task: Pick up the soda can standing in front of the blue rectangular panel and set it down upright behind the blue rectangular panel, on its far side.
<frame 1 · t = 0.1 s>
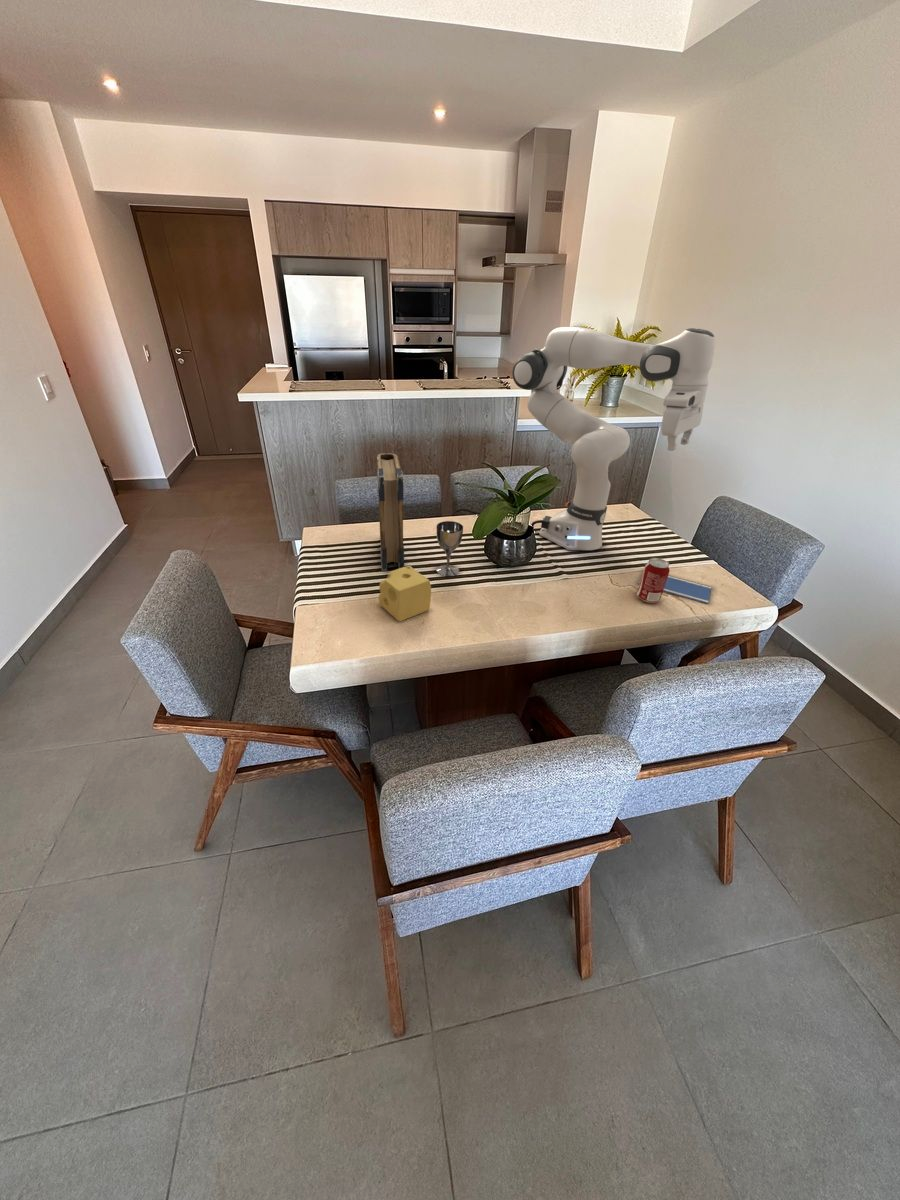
hand: (677, 447, 143), 39 cm above the table, tool pointing down, fingers open, 8 cm apart
wine glass: (447, 571, 156), on the table
blue rectangular panel: (674, 586, 153), on the table
cheese: (405, 608, 137), on the table
decorative book: (390, 553, 164), on the table
soda can: (647, 598, 147), on the table
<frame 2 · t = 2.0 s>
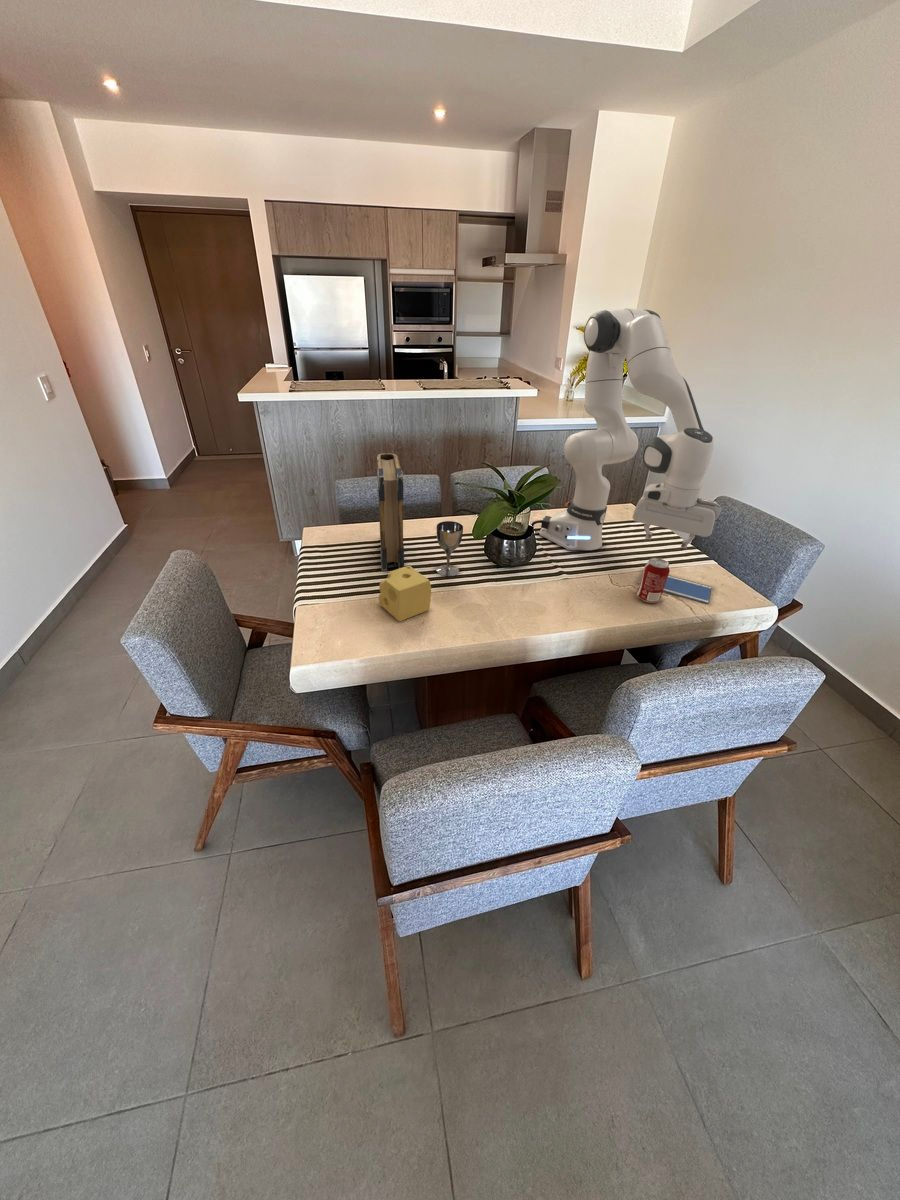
hand: (665, 542, 137), 18 cm above the table, tool pointing down, fingers open, 8 cm apart
nothing on the table moved.
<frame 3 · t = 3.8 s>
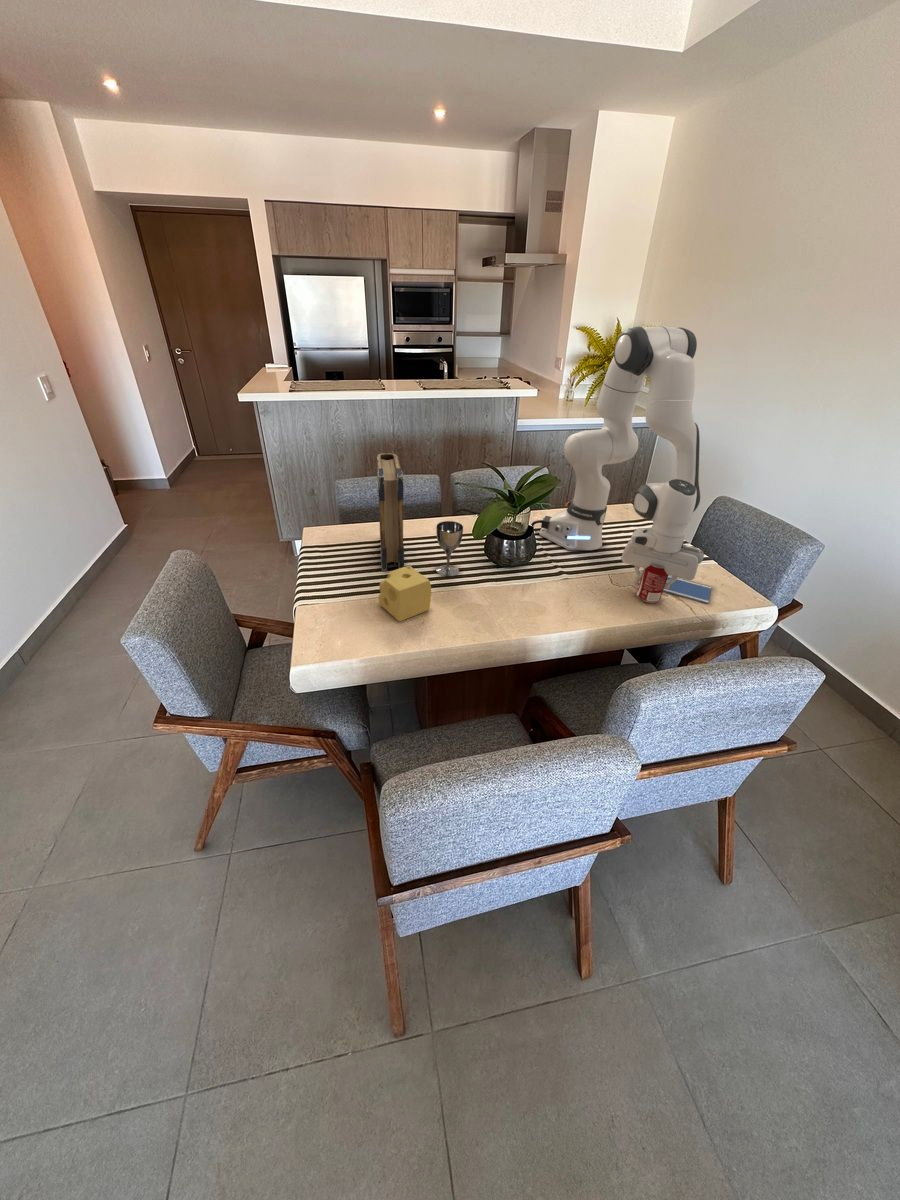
hand: (652, 583, 144), 5 cm above the table, tool pointing down, fingers closed on soda can, 7 cm apart
soda can: (647, 598, 147), on the table, touching gripper
everything else where it was.
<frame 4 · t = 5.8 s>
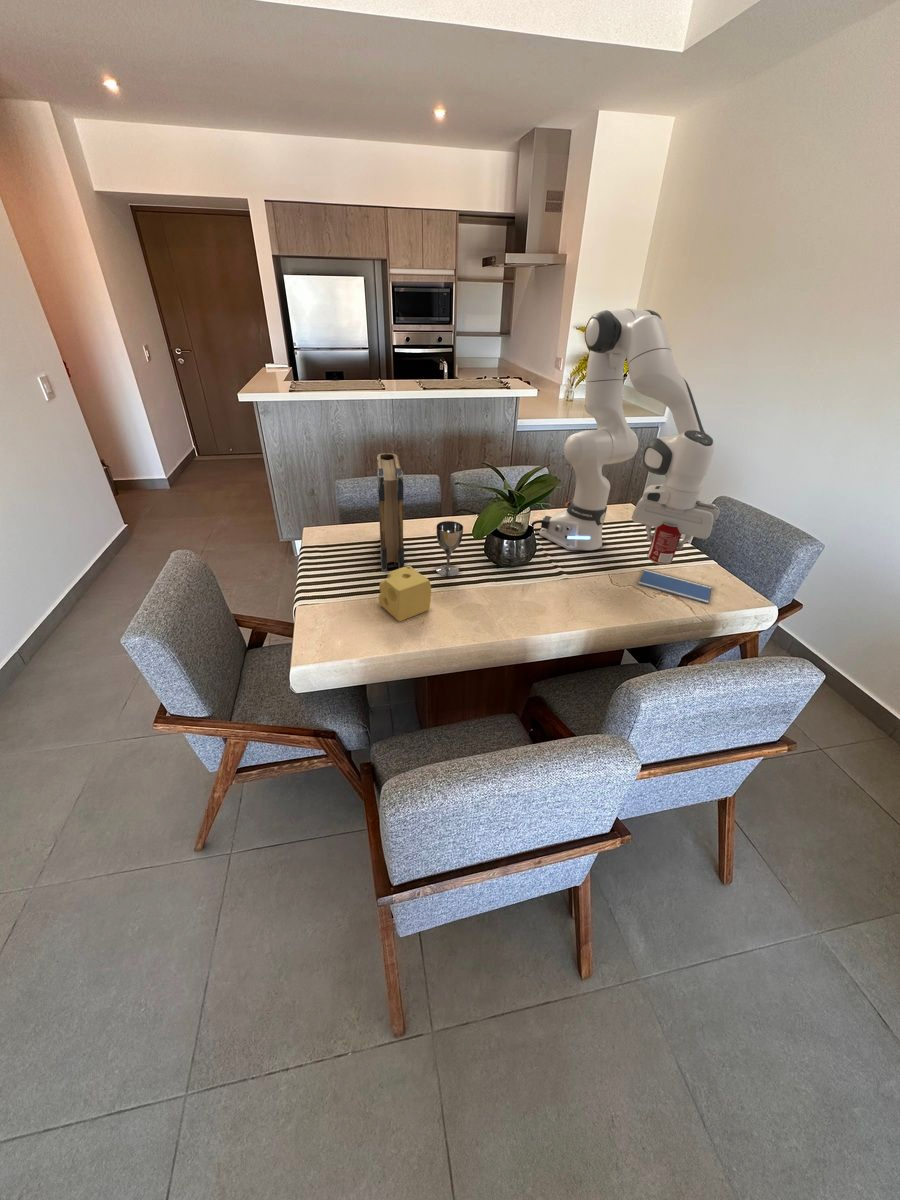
hand: (664, 543, 137), 18 cm above the table, tool pointing down, fingers closed on soda can, 7 cm apart
soda can: (658, 560, 140), point 12 cm above the table, touching gripper
everything else where it was.
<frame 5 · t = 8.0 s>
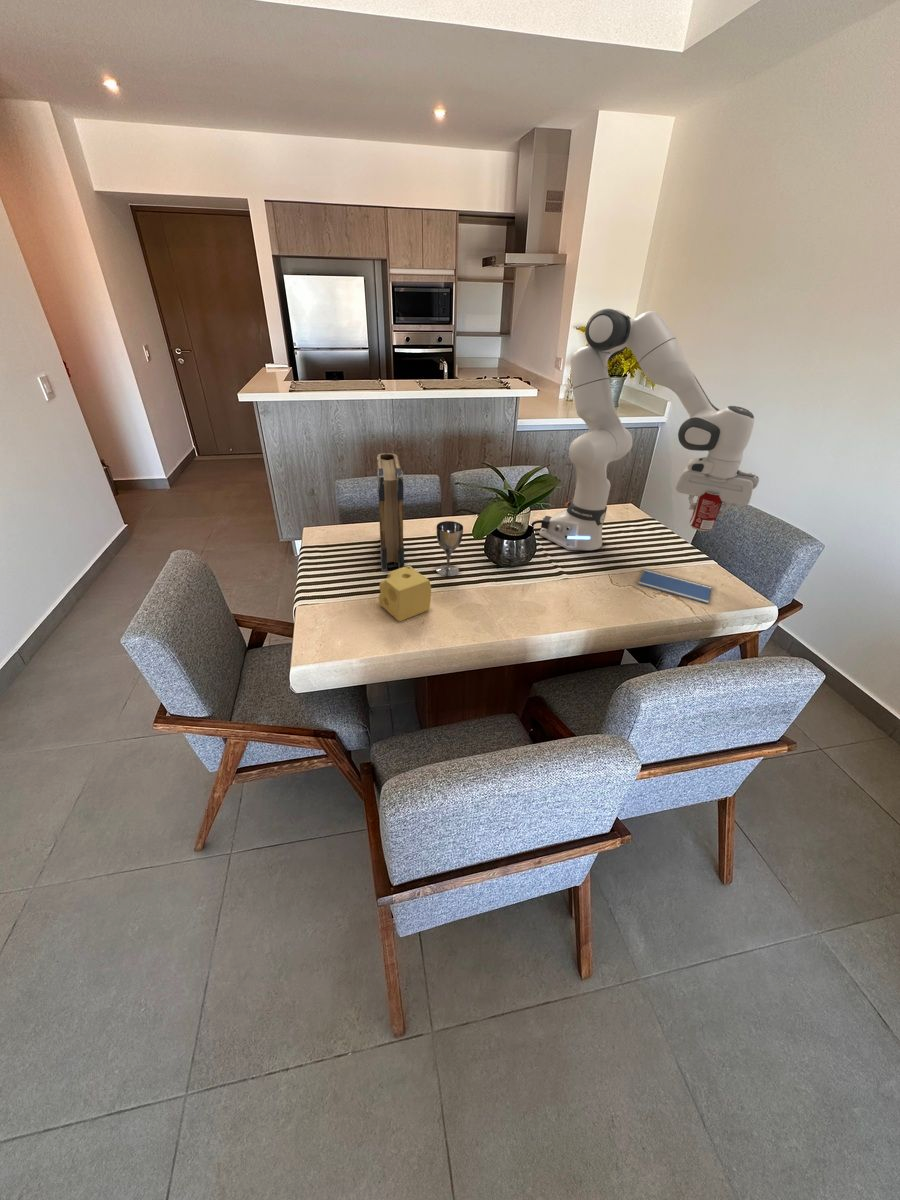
hand: (705, 512, 150), 21 cm above the table, tool pointing down, fingers closed on soda can, 7 cm apart
soda can: (700, 528, 153), point 15 cm above the table, touching gripper
everything else where it was.
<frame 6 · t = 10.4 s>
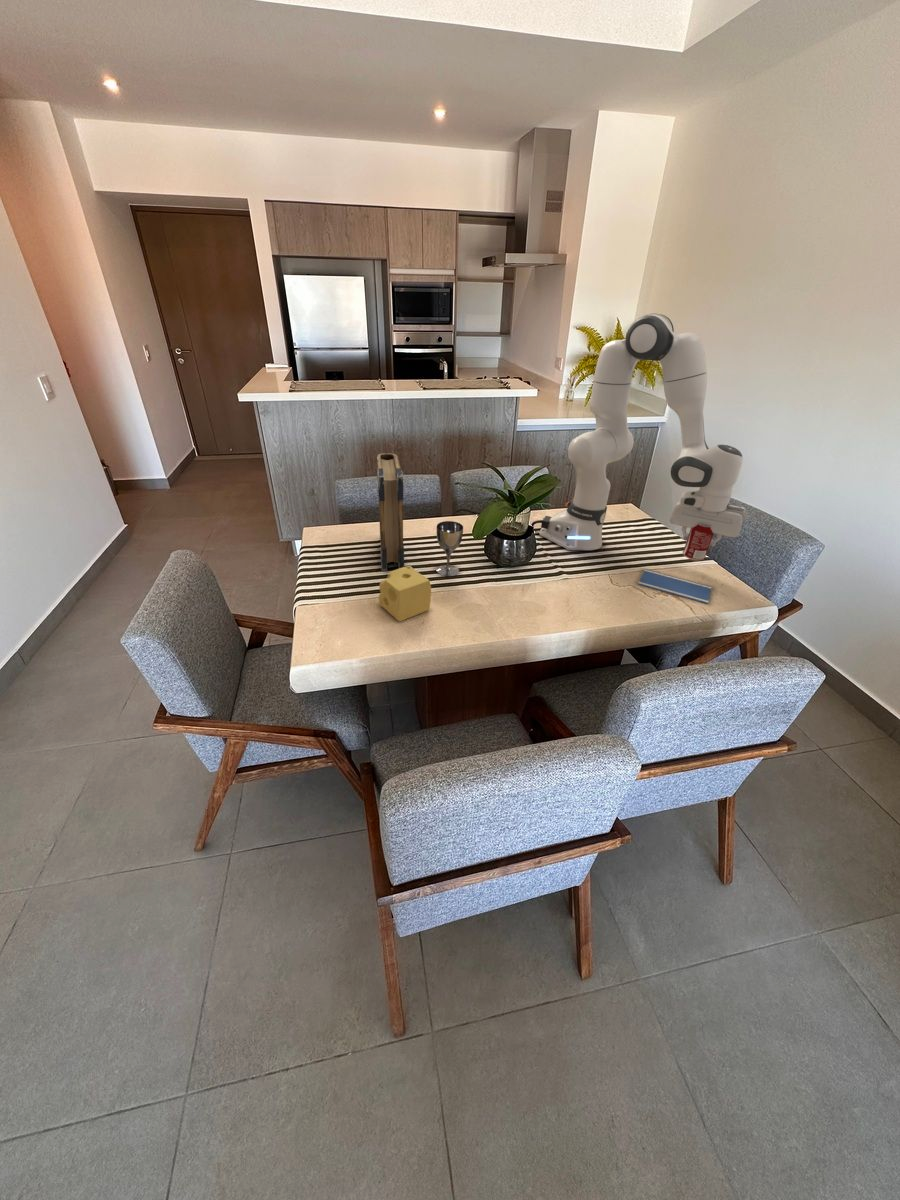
hand: (697, 542, 157), 10 cm above the table, tool pointing down, fingers closed on soda can, 7 cm apart
soda can: (692, 557, 160), point 5 cm above the table, touching gripper
everything else where it was.
when the fingers open (5 cm above the table, at t = 12.2 s): soda can stays where it is, on the table.
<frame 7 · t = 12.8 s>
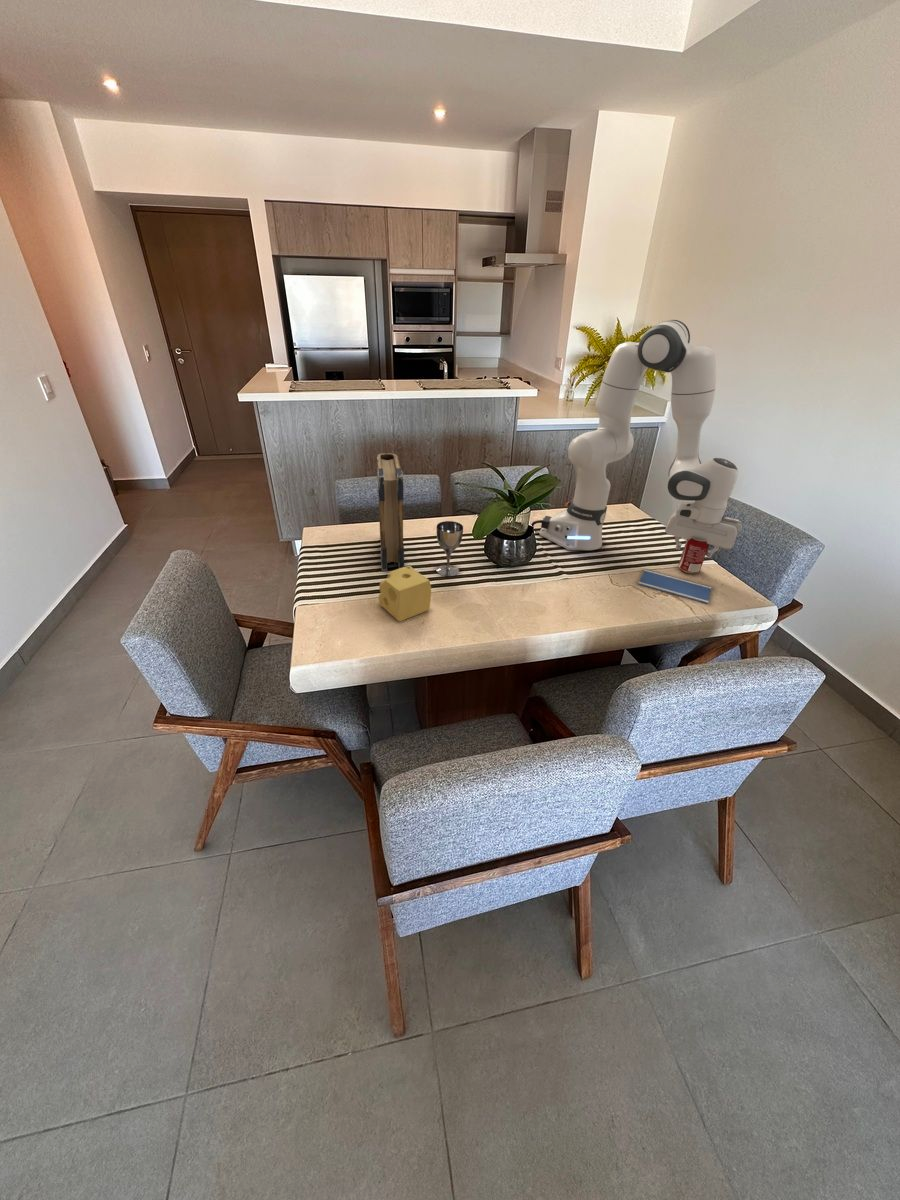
hand: (693, 552, 160), 6 cm above the table, tool pointing down, fingers open, 8 cm apart
soda can: (688, 570, 163), on the table
everything else where it was.
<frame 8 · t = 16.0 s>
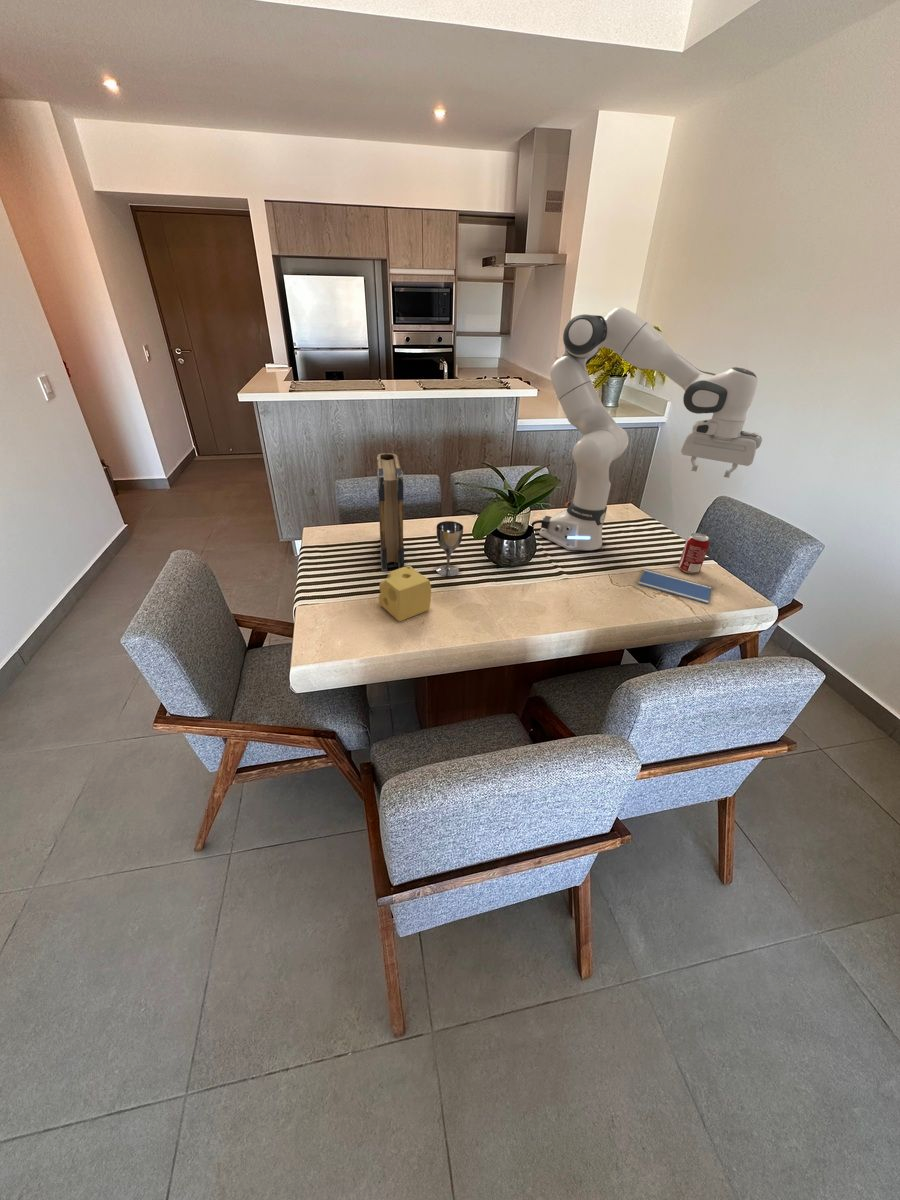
hand: (709, 473, 155), 29 cm above the table, tool pointing down, fingers open, 8 cm apart
nothing on the table moved.
at the end: soda can inside the target area on the table beside the blue rectangular panel (1.7 cm from its centre), on the table; soda can tilted 0°; soda can touching table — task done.
